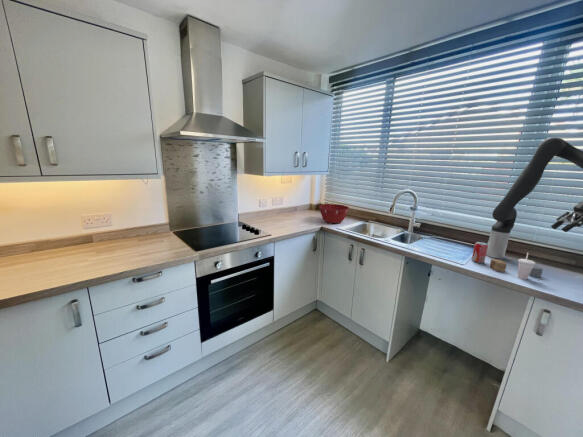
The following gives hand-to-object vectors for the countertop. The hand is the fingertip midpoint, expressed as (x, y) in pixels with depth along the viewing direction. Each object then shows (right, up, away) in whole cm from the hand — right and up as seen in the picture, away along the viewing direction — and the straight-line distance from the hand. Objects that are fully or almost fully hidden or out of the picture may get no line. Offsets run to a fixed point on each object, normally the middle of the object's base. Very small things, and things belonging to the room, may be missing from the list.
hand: (557, 229), depth 121 cm
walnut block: (-16, -24, +17) cm, 33 cm away
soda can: (-19, -21, +27) cm, 40 cm away
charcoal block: (-2, -26, +11) cm, 28 cm away
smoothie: (-11, -26, +7) cm, 30 cm away
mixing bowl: (-94, +2, +114) cm, 148 cm away
